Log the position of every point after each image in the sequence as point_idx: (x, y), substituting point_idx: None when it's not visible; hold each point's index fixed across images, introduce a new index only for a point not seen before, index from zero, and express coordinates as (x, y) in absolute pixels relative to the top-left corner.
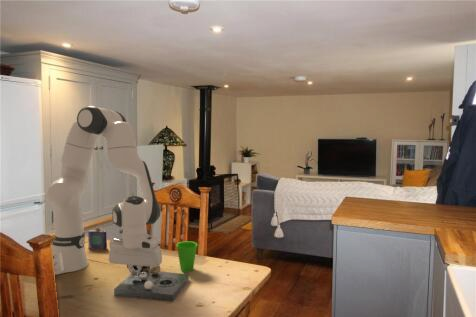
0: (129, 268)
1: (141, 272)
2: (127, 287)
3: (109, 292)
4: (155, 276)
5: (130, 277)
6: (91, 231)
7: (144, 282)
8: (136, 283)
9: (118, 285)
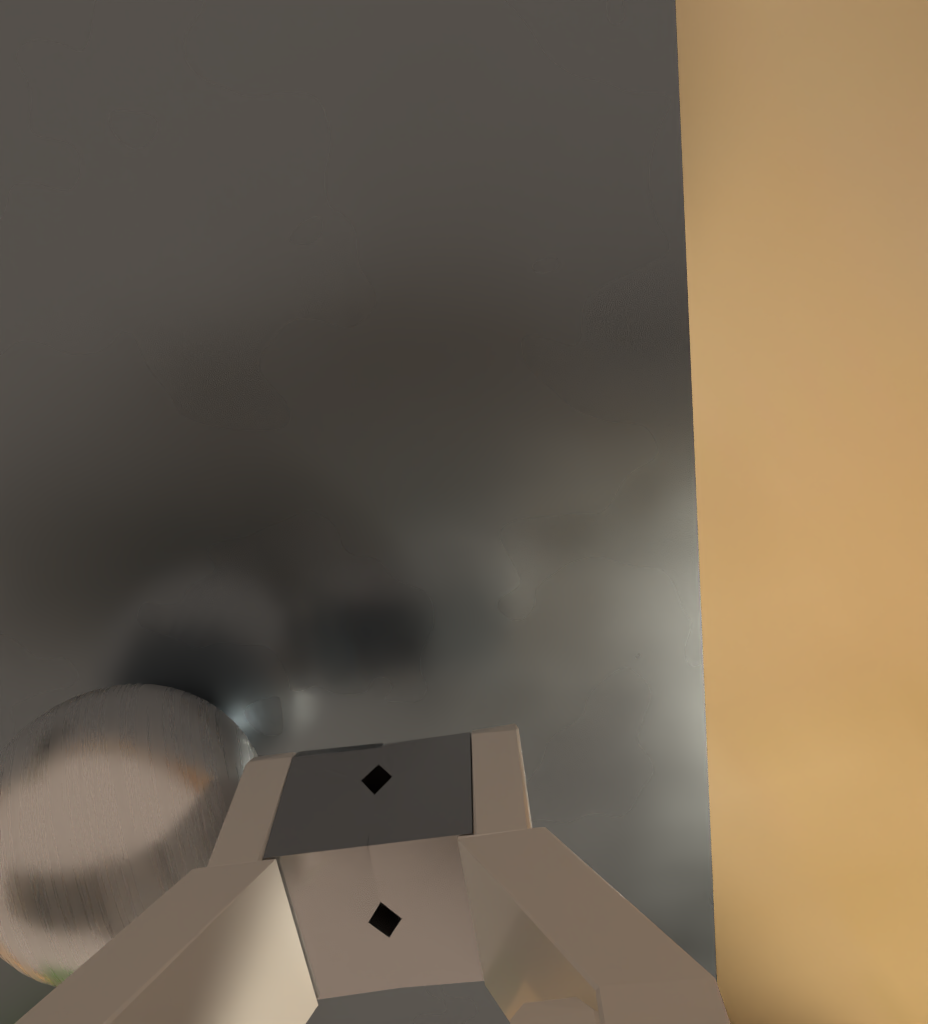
0: (605, 934)
1: (121, 915)
2: (267, 131)
3: (864, 54)
4: (48, 988)
5: (623, 765)
6: None
7: (33, 635)
8: (202, 505)
9: (669, 158)
